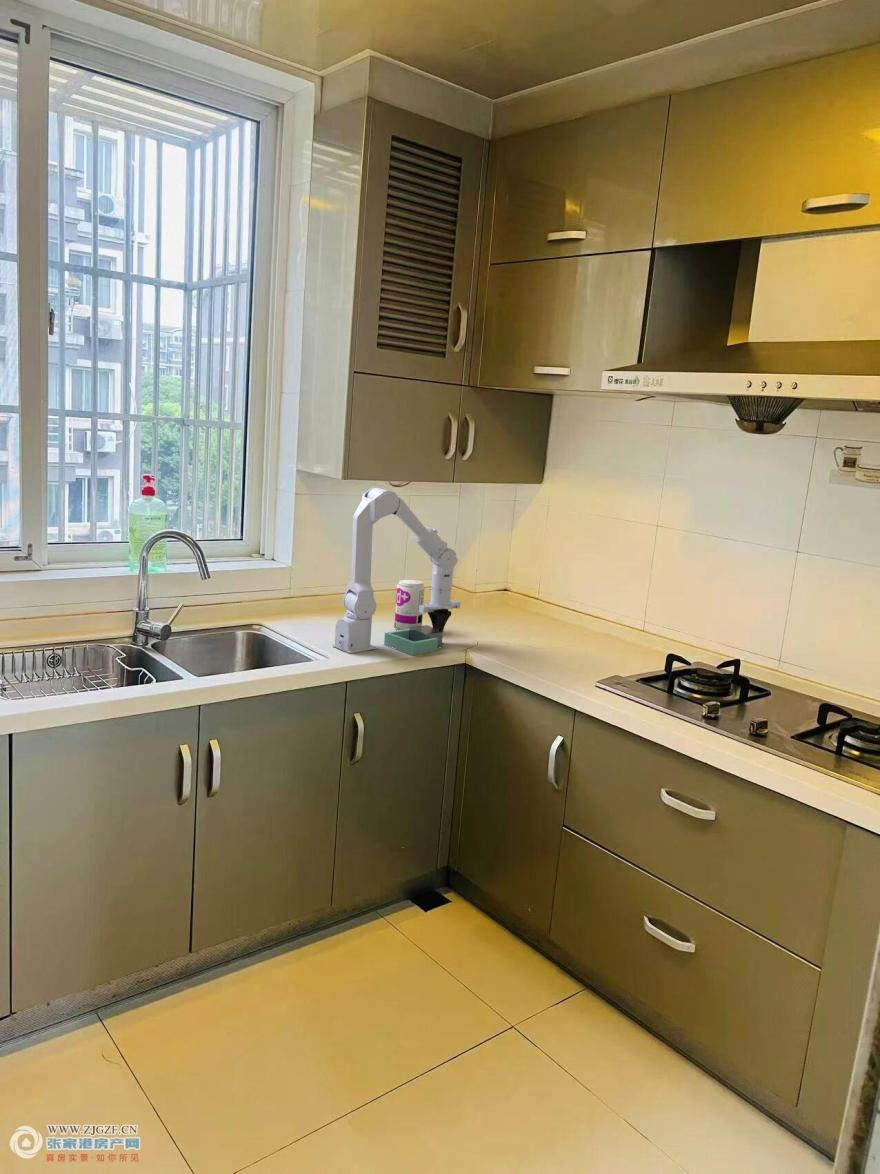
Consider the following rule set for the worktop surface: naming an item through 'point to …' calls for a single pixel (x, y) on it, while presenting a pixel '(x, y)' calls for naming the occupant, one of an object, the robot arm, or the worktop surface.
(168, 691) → the worktop surface
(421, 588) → the supplement can
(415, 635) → the block
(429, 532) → the robot arm
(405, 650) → the dock
